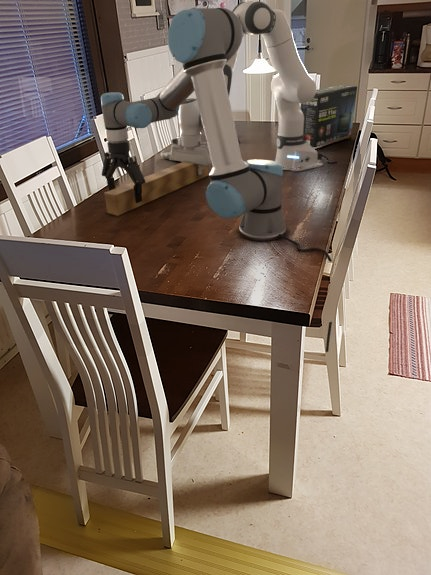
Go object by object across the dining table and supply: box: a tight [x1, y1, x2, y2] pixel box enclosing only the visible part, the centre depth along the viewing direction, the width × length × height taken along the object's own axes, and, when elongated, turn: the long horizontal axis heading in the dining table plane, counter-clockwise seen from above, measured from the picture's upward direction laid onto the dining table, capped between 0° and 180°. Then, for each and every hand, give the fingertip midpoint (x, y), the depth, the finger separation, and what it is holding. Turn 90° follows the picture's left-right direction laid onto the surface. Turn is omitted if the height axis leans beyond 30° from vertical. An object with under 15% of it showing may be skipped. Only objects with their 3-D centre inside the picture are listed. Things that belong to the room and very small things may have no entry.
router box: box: [300, 84, 358, 147], centre depth 238 cm, size 36×11×27 cm, turn 134°
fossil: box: [160, 149, 181, 163], centre depth 229 cm, size 18×11×15 cm
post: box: [103, 162, 210, 217], centre depth 185 cm, size 55×6×8 cm, turn 144°
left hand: (125, 198), depth 171 cm, fingers open, 13 cm apart
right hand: (192, 172), depth 199 cm, fingers closed on post, 5 cm apart
